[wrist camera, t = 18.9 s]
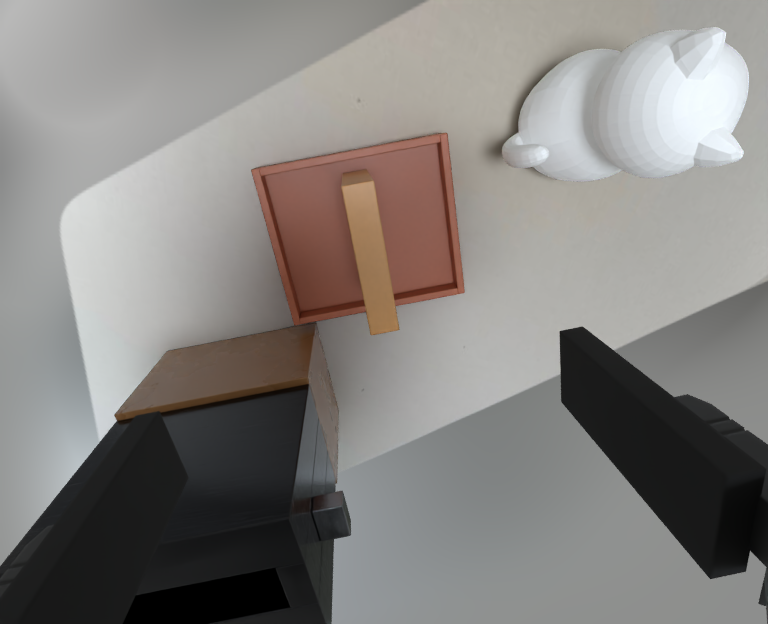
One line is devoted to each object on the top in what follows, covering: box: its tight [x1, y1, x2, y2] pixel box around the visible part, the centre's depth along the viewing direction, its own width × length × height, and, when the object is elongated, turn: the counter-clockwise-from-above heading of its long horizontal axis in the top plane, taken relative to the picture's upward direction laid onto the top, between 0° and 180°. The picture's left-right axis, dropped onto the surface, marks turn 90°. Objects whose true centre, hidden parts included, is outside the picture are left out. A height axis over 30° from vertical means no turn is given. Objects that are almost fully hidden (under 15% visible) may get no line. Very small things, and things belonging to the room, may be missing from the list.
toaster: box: [0, 323, 351, 624], centre depth 32 cm, size 16×10×22 cm, turn 100°
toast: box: [341, 169, 399, 335], centre depth 32 cm, size 10×2×10 cm, turn 9°
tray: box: [251, 133, 465, 325], centre depth 37 cm, size 15×13×2 cm
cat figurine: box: [502, 27, 749, 182], centre depth 29 cm, size 9×12×15 cm
